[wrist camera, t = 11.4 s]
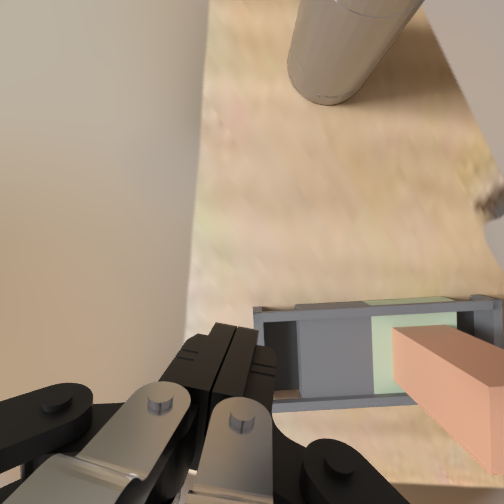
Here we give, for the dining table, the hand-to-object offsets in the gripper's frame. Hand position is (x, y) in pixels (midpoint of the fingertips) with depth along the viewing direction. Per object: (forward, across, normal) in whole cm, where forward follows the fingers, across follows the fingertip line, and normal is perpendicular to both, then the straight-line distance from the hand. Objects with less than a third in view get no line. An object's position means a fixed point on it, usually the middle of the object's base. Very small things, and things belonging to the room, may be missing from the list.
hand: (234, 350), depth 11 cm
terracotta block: (+24, -18, +10) cm, 32 cm away
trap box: (+26, -13, +12) cm, 31 cm away
